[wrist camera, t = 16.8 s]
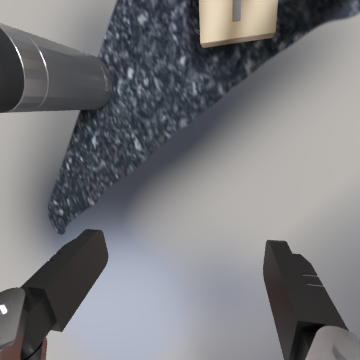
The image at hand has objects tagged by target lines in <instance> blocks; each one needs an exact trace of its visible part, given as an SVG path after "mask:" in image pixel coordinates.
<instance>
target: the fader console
mask: <svg viewBox="0 0 360 360" xmlns="http://www.w3.org/2000/svg"><path fill="white" fill-rule="evenodd" d="M277 7H278V0H199V16H200V44H201V46H202V48H206V47H213V46H220V45H227V44H234V43H240V42H247V41H254V40H261V39H267V38H273V36H274V34H275V32H276V21H277Z"/></svg>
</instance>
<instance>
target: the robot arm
mask: <svg viewBox="0 0 360 360" xmlns="http://www.w3.org/2000/svg"><path fill="white" fill-rule="evenodd" d="M112 87H113V85H112V78H111V74H110V72H109V70H108V68H107V67H106V65H105V64H104V63H103V62H102V61H101V60H100V59H99V58H97V57H95V56H93V55H90V54H87V53H84V52H81V51H79V50H76V49H73V48H70V47H68V46H65V45H62V44H59V43H56V42H53V41H50V40H48V39H45V38H42V37H39V36H36V35H33V34H31V33H28V32H25V31H22V30H19V29H16V28H13V27H10V26H7V25H4V24H2V23H0V113H5V112H6V113H8V112H32V111H60V110H93V109H99V108H102V107H103V106H105V105H106V104H107V102H108V101H109V99H110V97H111V94H112ZM107 261H108V251H107V247H106V243H105V239H104V235H103V232H102V231H101V230H90V229H86V230H85V231H83V232H82V233H81V234H80V235H79V236H78V237H77V238H76V239H74V240H72V241H70V242H69V243H67V244H66V245H64V246H63V247H62V248H61V249H60V250H59V251H58V252H57V253H56V254H55V255H54V256H53V257H52V258H51V259H50V261H47V262H46V263H45V264H44V265H43V266H42V267H41V268H40V269H39V270H38V271H37V272H36V273H35V274H34V275H33V276H32V277H31V278H30V279H29V280H28V281H27V282H26V283H24V285H22V286H21V287H20V288H11V289H7V290H5V291H3V292H0V360H46V350H47V338H46V335H47V334H48V333H49V331H50V330H54V331H60V332H62V331H63V329H64V328H65V327H66V325H67V324H68V322H69V321H70V319H71V317H72V316H73V315H74V313H75V312H76V310H77V309H78V307H79V305H80V304H81V302H82V301H83V300H84V298H85V297H86V295H87V293H88V292H89V290H90V289H91V288H92V286H93V284H94V283H95V281H96V280H97V279H98V277H99V275H100V274H101V272H102V271H103V269H104V268H105V266H106V264H107ZM263 275H264V282H265V285H266V290H267V294H268V298H269V302H270V305H271V309H272V313H273V317H274V321H275V325H276V329H277V333H278V337H279V341H280V345H281V349H282V353H283V357H284V360H360V338H358V337H357V336H356V335H354V334H353V333H351V332H349V330H348V329H347V327H346V326H345V324H344V322H343V320H342V318H341V316H340V315H339V313H338V311H337V309H336V308H335V306H334V304H333V302H332V301H331V299H330V297H329V295H328V293H327V292H326V290H325V288H324V287H323V284H322V283H321V281H320V279H319V278H318V277H317V274H316V272H315V270H314V268H313V267H312V265H311V264H310V263H309V262H308V261H307V260H306V259H305V258H304V257H303V256H302V255H300V254H292V252H291V250H290V248H289V246H288V244H287V242H286V241H277V240H276V241H275V240H267V242H266V248H265V257H264V265H263Z"/></svg>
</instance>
